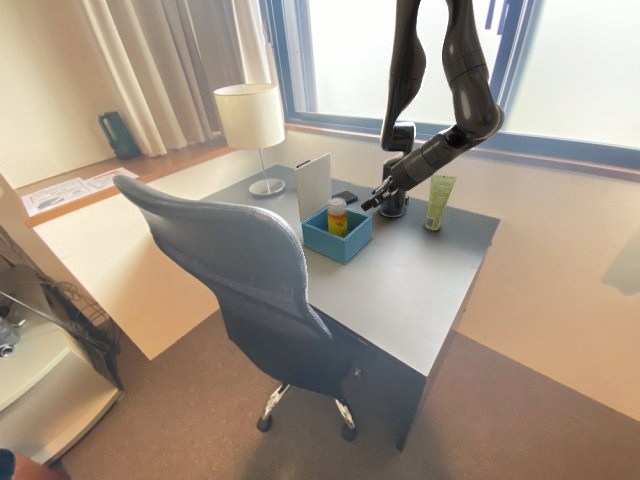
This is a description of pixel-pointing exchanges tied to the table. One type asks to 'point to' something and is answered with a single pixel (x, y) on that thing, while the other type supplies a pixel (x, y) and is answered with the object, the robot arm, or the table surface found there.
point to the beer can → (337, 216)
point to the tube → (438, 199)
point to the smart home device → (346, 197)
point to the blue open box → (333, 245)
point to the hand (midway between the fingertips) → (368, 201)
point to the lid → (313, 185)
